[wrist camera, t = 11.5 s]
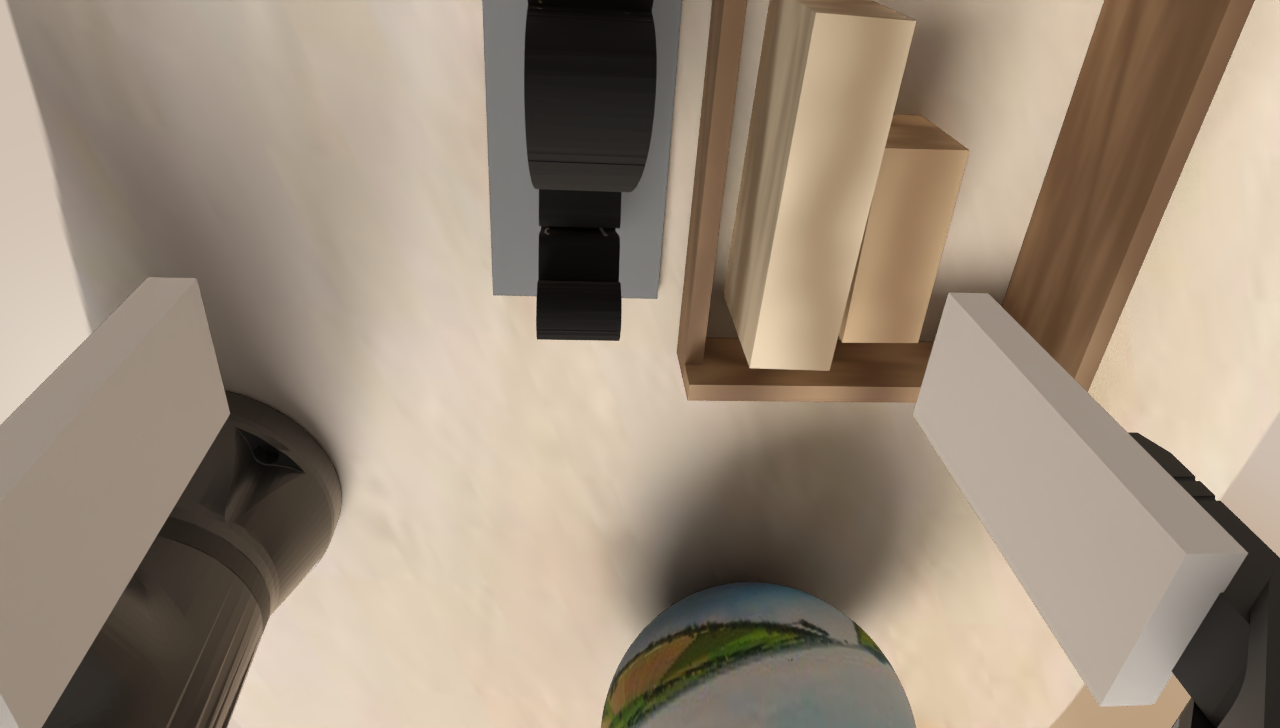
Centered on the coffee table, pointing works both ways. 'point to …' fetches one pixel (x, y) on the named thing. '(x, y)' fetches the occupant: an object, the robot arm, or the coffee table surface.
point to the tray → (1060, 225)
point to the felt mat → (510, 171)
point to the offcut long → (811, 173)
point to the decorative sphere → (755, 666)
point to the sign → (585, 151)
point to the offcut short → (904, 233)
